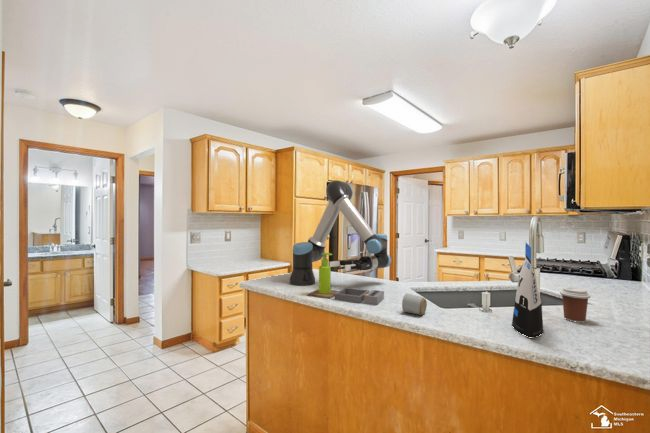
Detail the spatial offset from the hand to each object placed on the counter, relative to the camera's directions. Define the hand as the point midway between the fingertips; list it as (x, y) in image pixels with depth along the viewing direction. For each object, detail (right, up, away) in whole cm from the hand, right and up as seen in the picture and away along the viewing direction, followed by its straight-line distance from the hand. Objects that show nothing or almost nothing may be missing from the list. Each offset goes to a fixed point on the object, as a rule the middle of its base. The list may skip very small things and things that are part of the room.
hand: (336, 266), depth 158 cm
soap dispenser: (-6, -13, -5) cm, 15 cm away
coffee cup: (+91, -15, -40) cm, 100 cm away
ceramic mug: (+31, -14, -31) cm, 46 cm away
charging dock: (+10, -14, -12) cm, 21 cm away
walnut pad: (-7, -14, -4) cm, 16 cm away
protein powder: (+67, -15, -48) cm, 83 cm away
